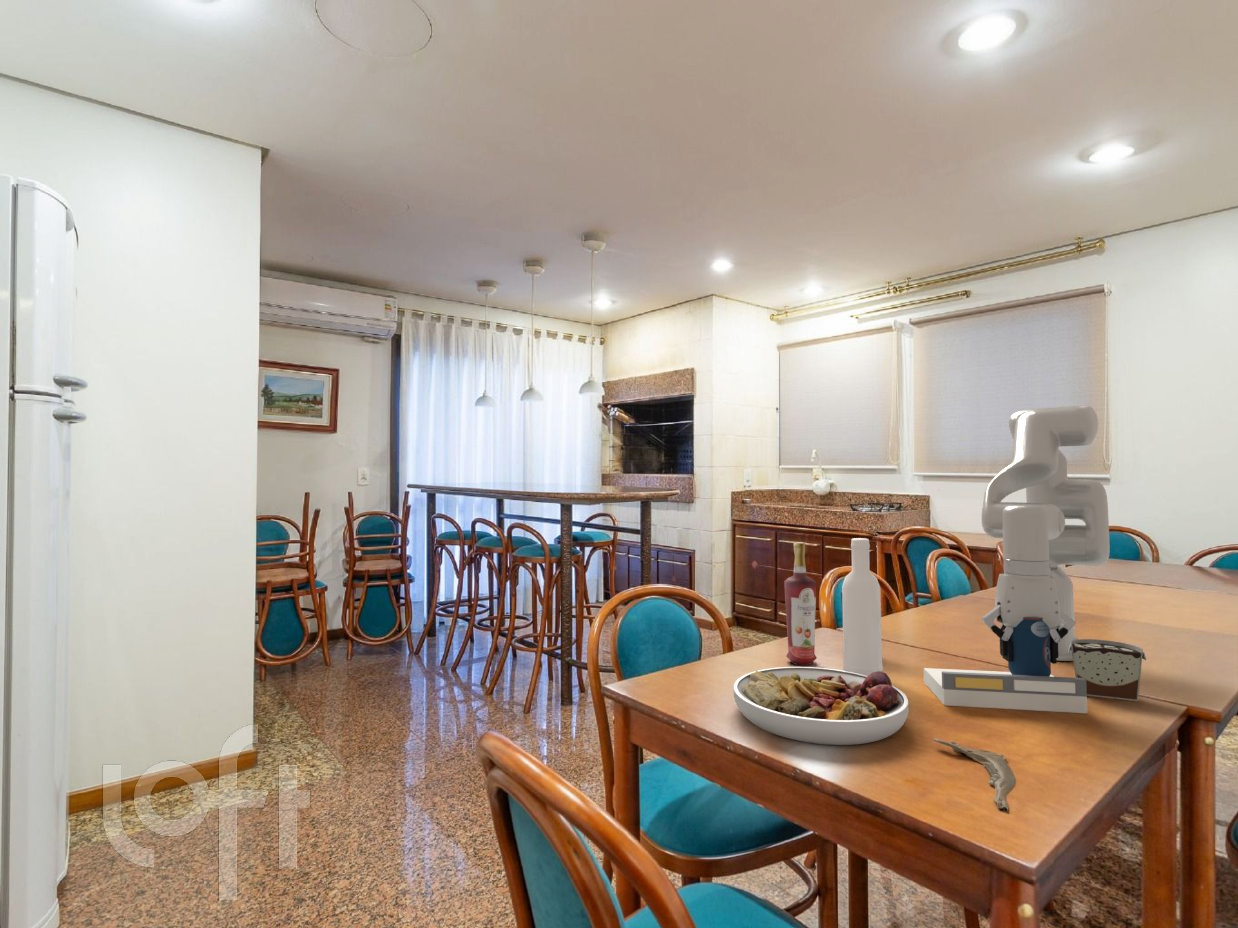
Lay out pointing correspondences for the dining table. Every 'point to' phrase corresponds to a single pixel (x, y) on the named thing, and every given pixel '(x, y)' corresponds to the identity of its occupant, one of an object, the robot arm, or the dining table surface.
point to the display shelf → (1007, 690)
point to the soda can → (1031, 648)
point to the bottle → (861, 614)
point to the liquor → (800, 611)
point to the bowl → (822, 704)
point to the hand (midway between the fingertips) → (1029, 660)
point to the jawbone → (990, 770)
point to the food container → (1108, 667)
